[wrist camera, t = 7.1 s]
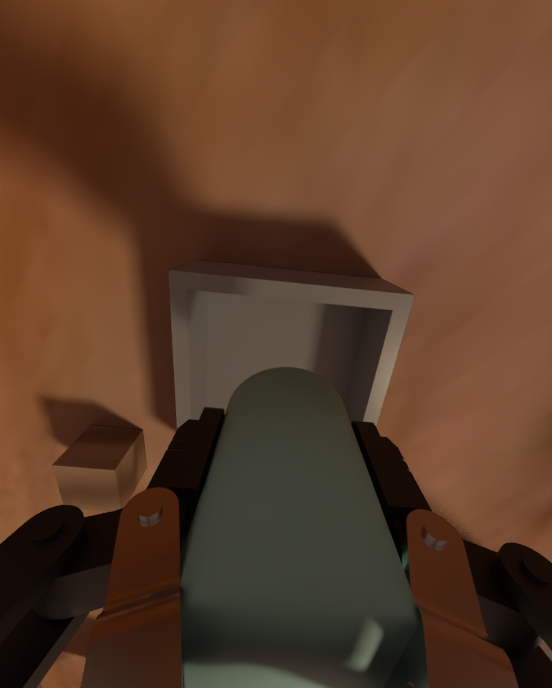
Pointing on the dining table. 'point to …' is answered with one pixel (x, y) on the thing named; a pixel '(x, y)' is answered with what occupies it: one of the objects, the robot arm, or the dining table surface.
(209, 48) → the dining table surface
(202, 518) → the green egg
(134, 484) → the walnut cube
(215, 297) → the charcoal tote
